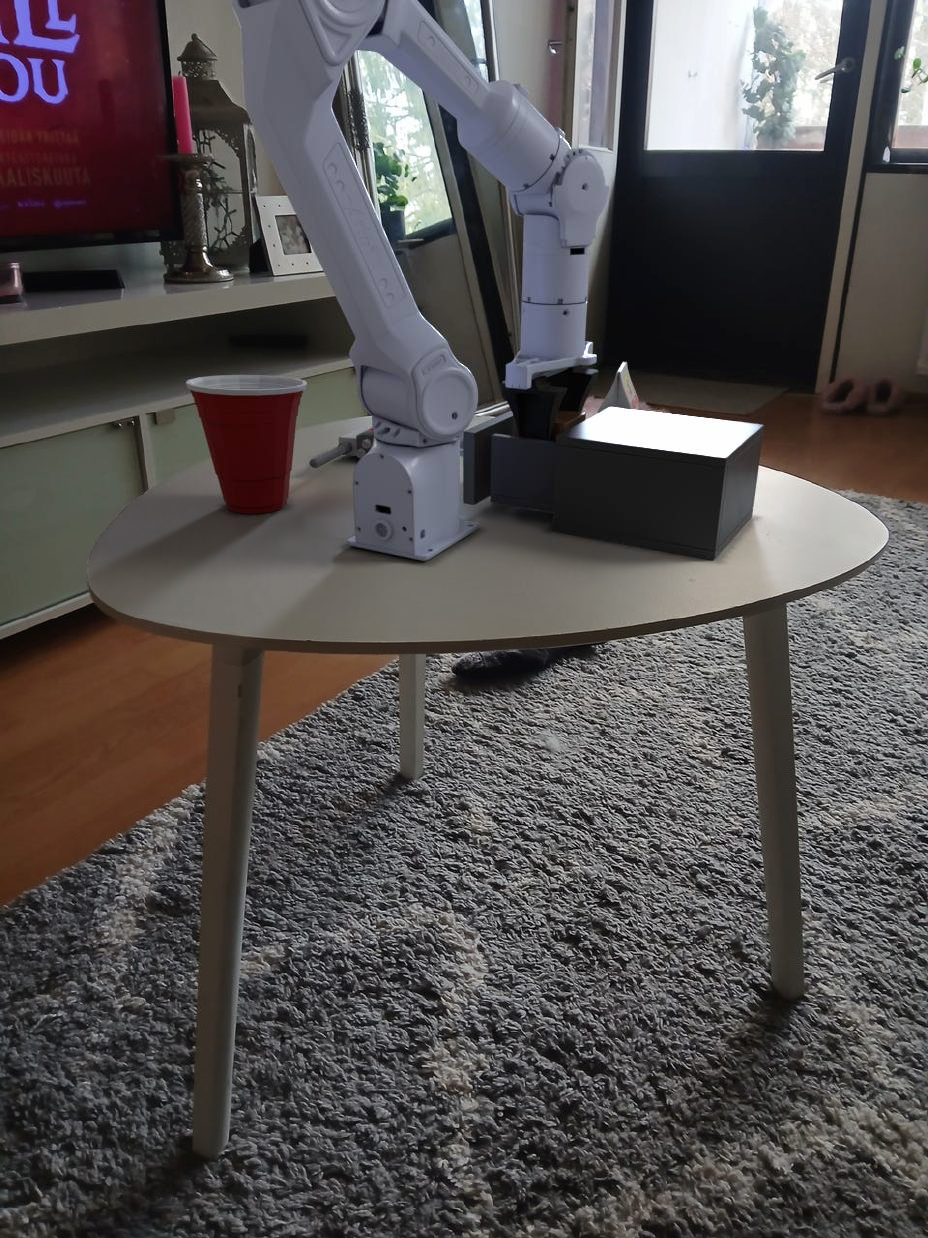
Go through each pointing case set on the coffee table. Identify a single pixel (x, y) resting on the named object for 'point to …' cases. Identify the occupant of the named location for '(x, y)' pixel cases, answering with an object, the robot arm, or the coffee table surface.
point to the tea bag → (621, 392)
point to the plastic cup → (250, 436)
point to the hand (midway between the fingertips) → (548, 453)
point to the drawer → (507, 466)
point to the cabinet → (656, 480)
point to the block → (562, 422)
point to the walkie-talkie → (348, 446)
